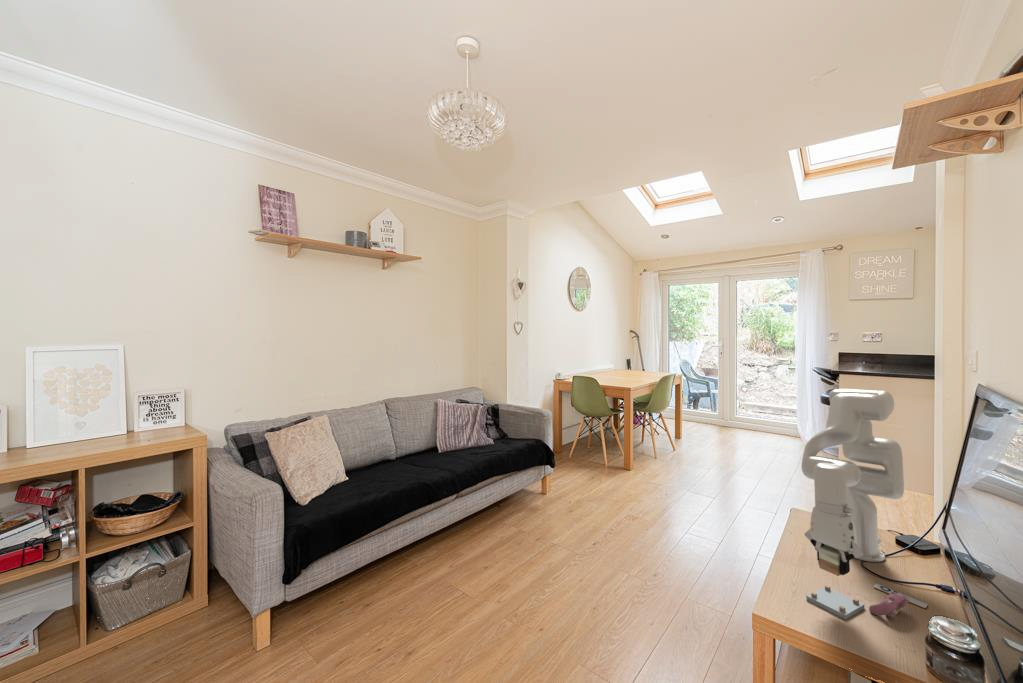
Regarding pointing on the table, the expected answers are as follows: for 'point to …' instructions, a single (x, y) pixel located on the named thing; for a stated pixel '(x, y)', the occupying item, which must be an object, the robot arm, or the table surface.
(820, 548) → the block stack
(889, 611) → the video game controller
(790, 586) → the table surface
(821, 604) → the board
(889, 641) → the table surface
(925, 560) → the table surface
